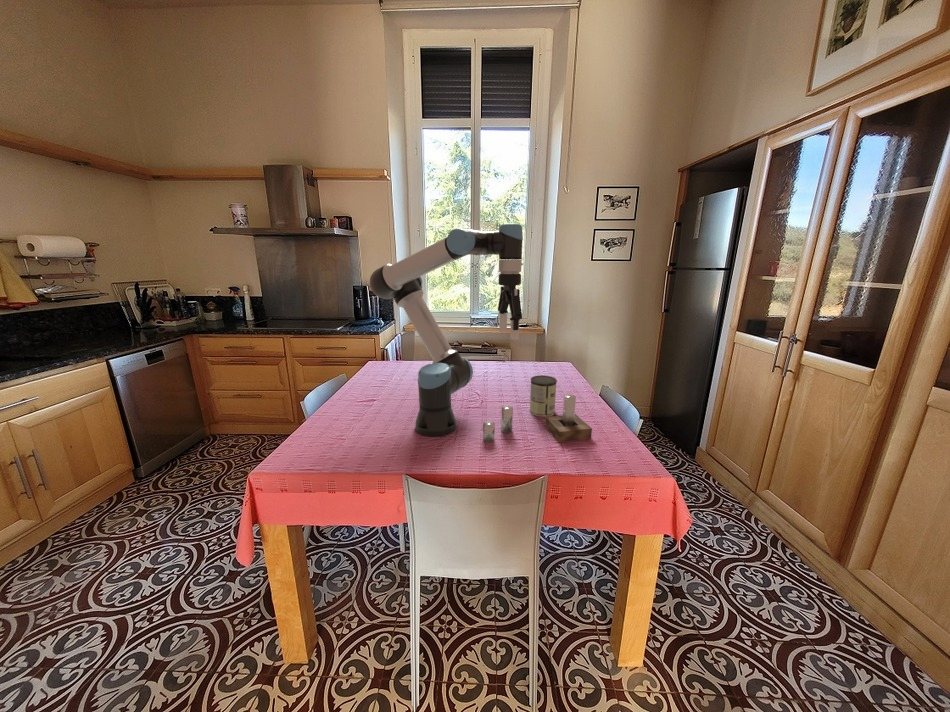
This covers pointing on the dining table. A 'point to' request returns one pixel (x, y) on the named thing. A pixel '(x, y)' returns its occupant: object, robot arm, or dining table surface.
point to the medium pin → (506, 419)
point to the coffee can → (542, 396)
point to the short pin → (488, 431)
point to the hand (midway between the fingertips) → (508, 335)
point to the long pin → (568, 410)
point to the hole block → (568, 429)
